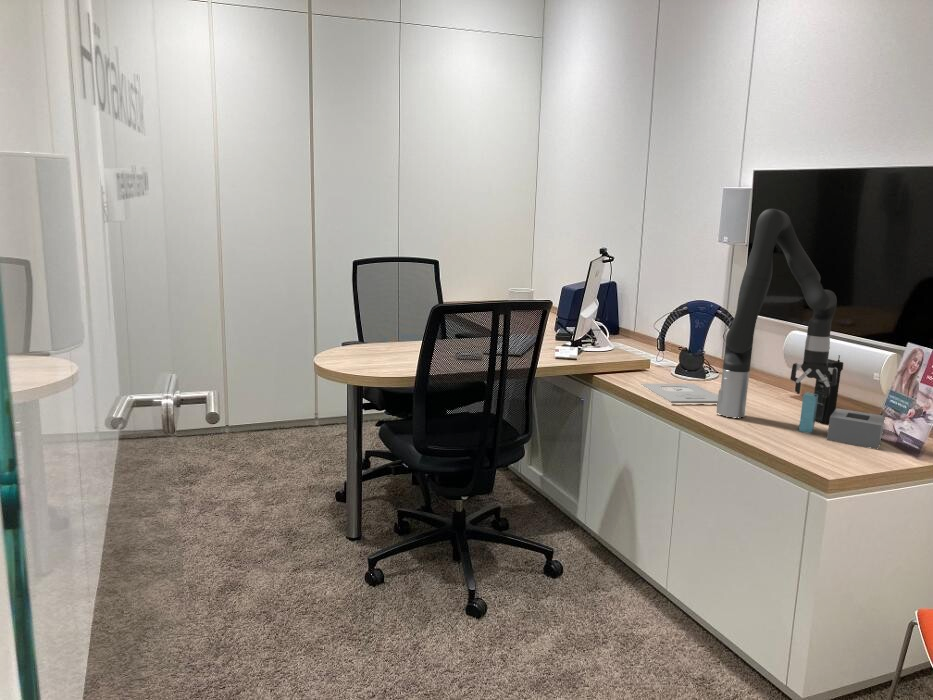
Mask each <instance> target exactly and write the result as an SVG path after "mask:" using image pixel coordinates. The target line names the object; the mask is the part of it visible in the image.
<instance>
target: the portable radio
mask: <svg viewBox="0 0 933 700" xmlns="http://www.w3.org/2000/svg"><path fill="white" fill-rule="evenodd" d="M840 357H841V355H839V354H838V359H837V360H835V359H831V358H828V368H835V367H836V368H837V369H838V371H837V384H836V385H835V386H831V387H830V393H829V396H827V397H826V398H824V391H825V386H826V385H825V384H824V382H823V381H822V380H821V378H819V379H815V385H814V392H813V393H815V394H819V395H818V402H817V410H816V417H815V422H817V423H819V422H820V424H823V425H829V420H830V416H831V415H832V413H833V412H834V411H835V409H836V408H837V404H838V403H837V401H838V394H839V389H840V388H839V387H840V380H841V373H842V370H844V362H842V361H841V360H840ZM825 375H826V377H827V378H828V380H829V382H832V374H830V371H828V372H827V373H826V374H825Z"/></svg>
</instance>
